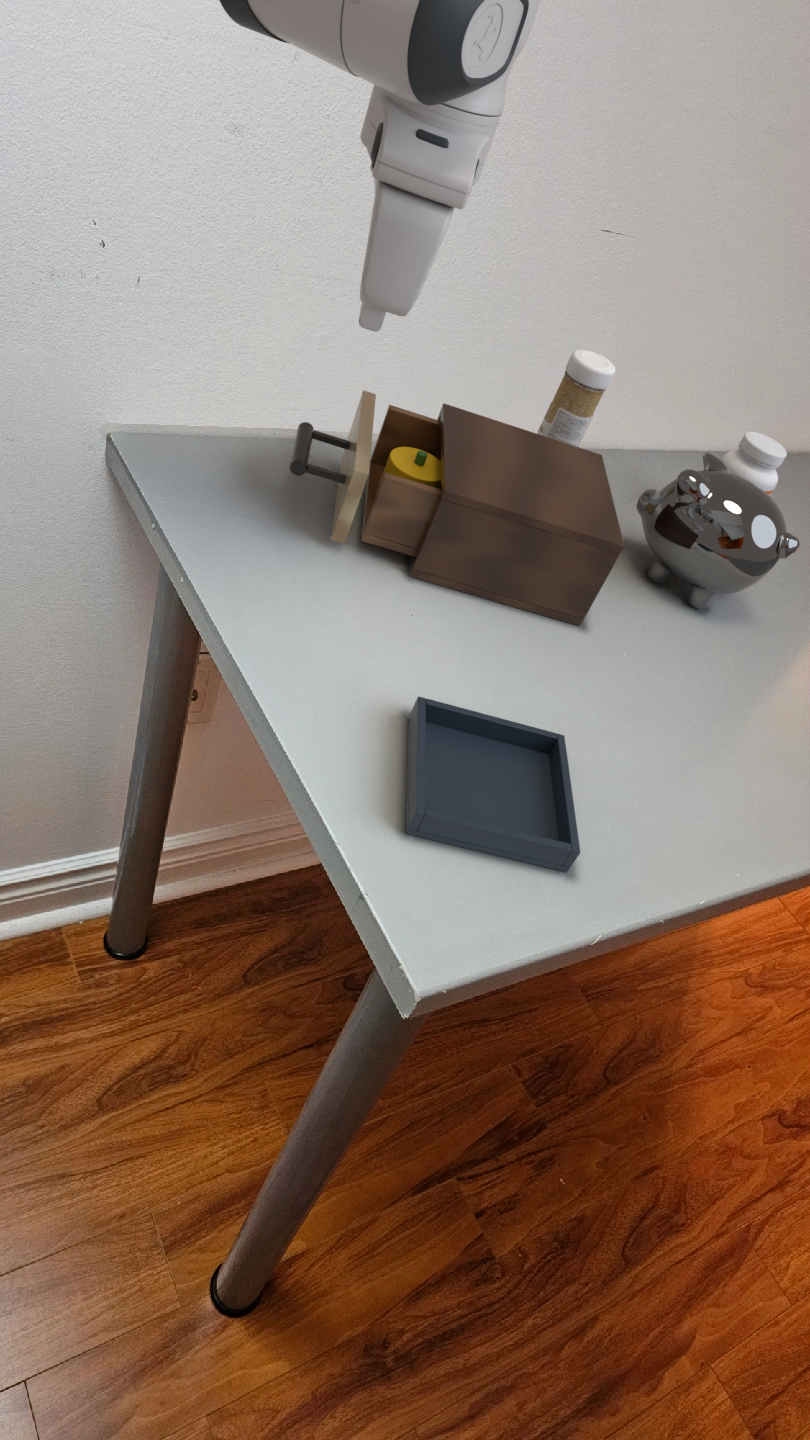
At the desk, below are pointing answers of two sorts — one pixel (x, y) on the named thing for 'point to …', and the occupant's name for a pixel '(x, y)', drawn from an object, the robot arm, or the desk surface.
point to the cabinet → (519, 519)
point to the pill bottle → (756, 460)
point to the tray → (490, 785)
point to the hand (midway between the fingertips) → (369, 322)
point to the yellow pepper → (414, 466)
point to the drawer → (377, 476)
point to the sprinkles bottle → (577, 397)
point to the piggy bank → (713, 531)
